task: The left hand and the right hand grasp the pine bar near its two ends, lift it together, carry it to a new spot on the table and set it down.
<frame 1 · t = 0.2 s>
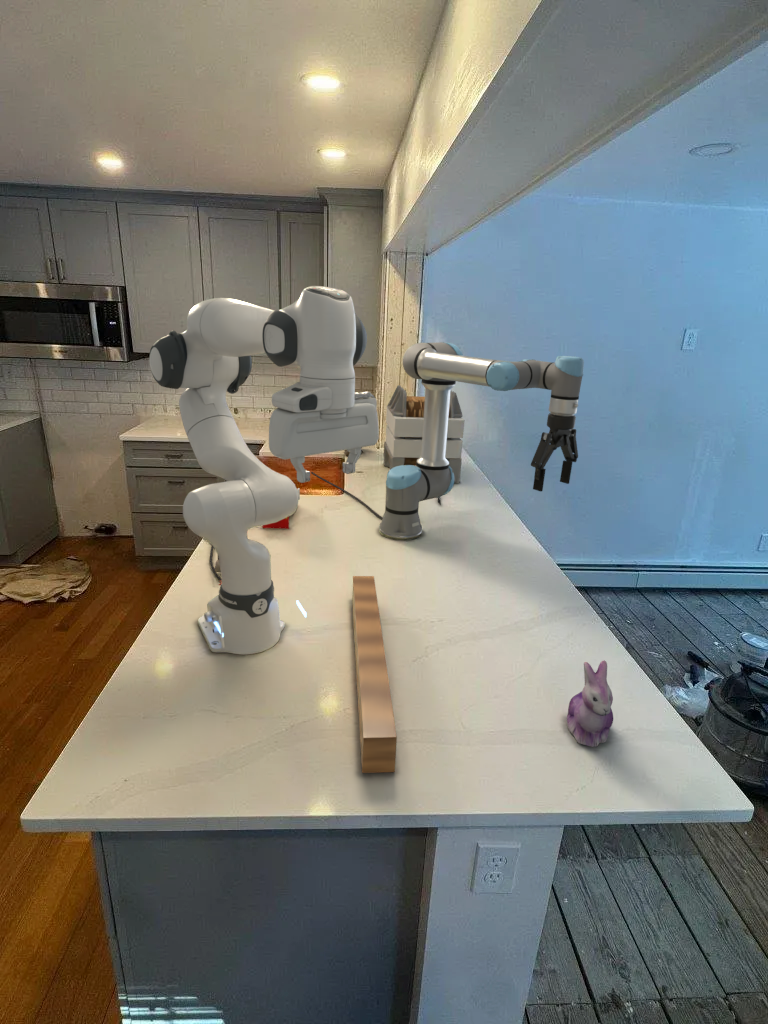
left hand: (326, 477, 96), 47 cm above the counter, tool pointing down, fingers open, 8 cm apart
right hand: (551, 486, 165), 28 cm above the counter, tool pointing down, fingers open, 13 cm apart
feather: (438, 495, 243), on the counter
toy: (280, 515, 212), on the counter
figurine: (589, 731, 109), on the counter
figurine character: (232, 569, 168), on the counter
bar: (368, 667, 125), on the counter
slatted wooden crate: (419, 473, 275), on the counter
fossil: (356, 452, 308), on the counter
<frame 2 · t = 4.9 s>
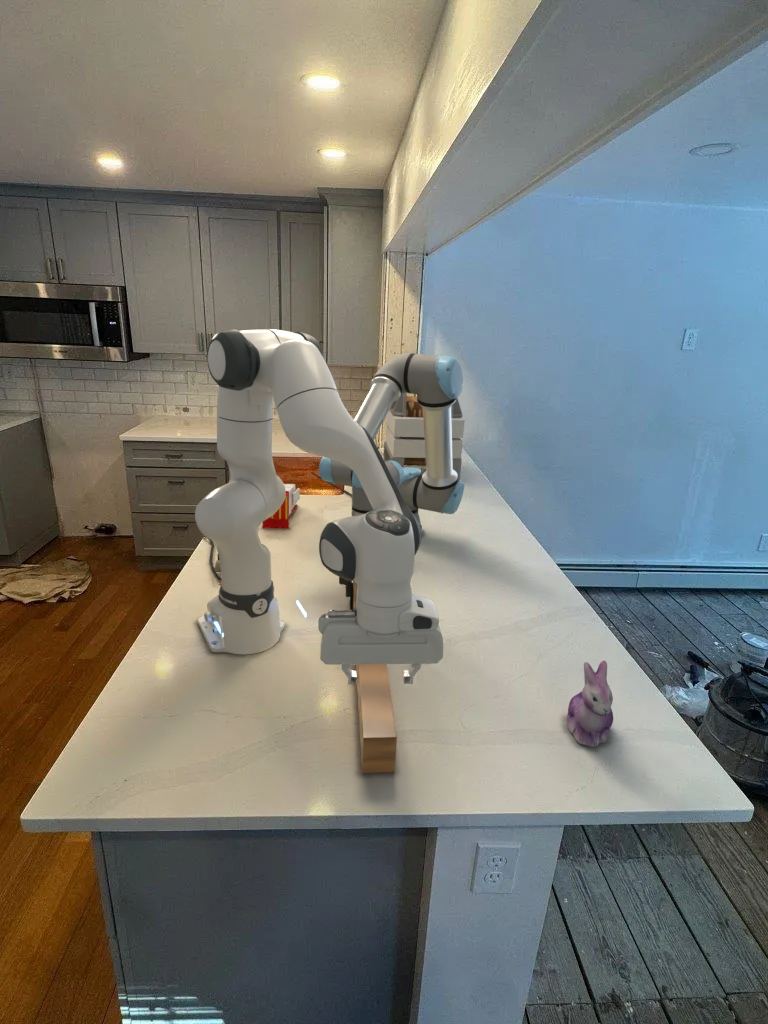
left hand: (379, 682, 96), 15 cm above the counter, tool pointing down, fingers open, 8 cm apart
right hand: (363, 606, 149), 1 cm above the counter, tool pointing down, fingers closed on bar, 6 cm apart
bar: (368, 667, 125), on the counter, touching right hand
everything else where it was.
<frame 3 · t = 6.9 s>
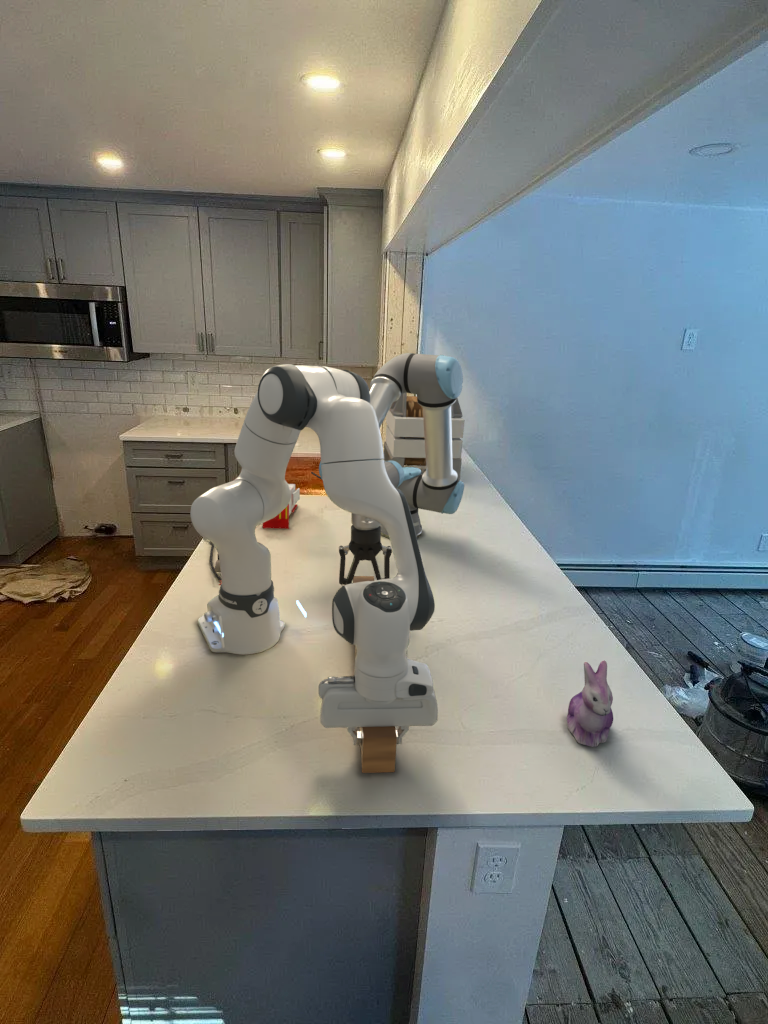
left hand: (377, 742, 100), 3 cm above the counter, tool pointing down, fingers closed on bar, 5 cm apart
right hand: (363, 606, 149), 1 cm above the counter, tool pointing down, fingers closed on bar, 6 cm apart
bar: (368, 667, 125), on the counter, touching right hand, left hand
everything else where it was.
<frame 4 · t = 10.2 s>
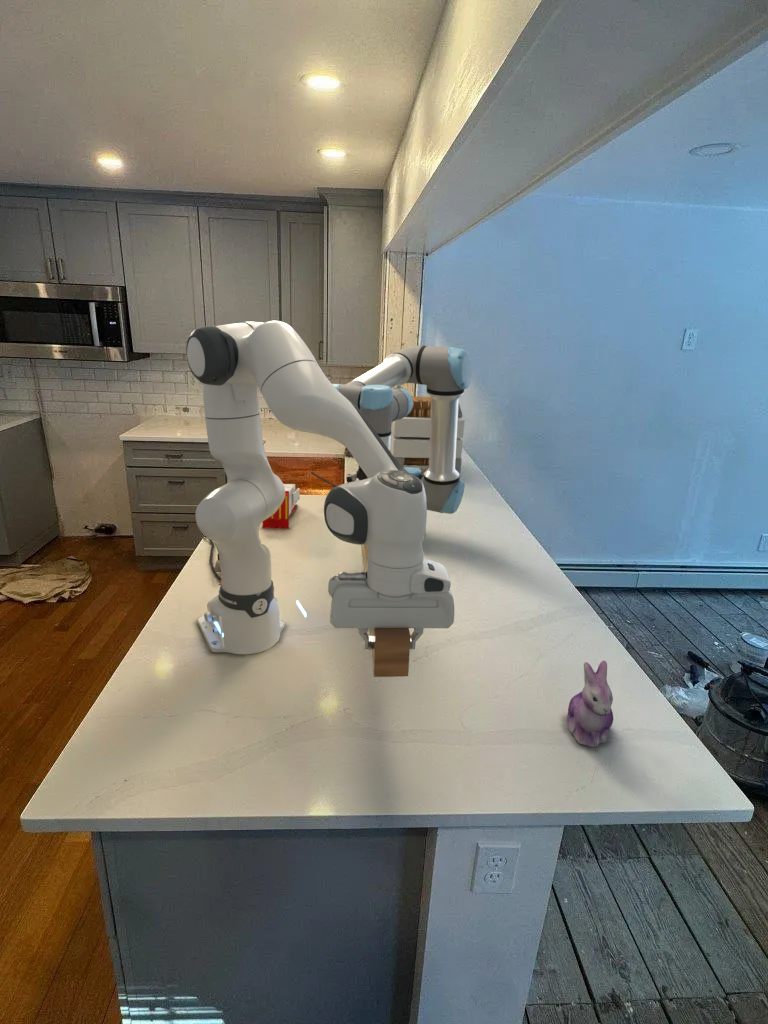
left hand: (389, 647, 95), 21 cm above the counter, tool pointing down, fingers closed on bar, 5 cm apart
right hand: (371, 540, 144), 19 cm above the counter, tool pointing down, fingers closed on bar, 6 cm apart
bar: (378, 589, 120), point 19 cm above the counter, touching right hand, left hand
everything else where it was.
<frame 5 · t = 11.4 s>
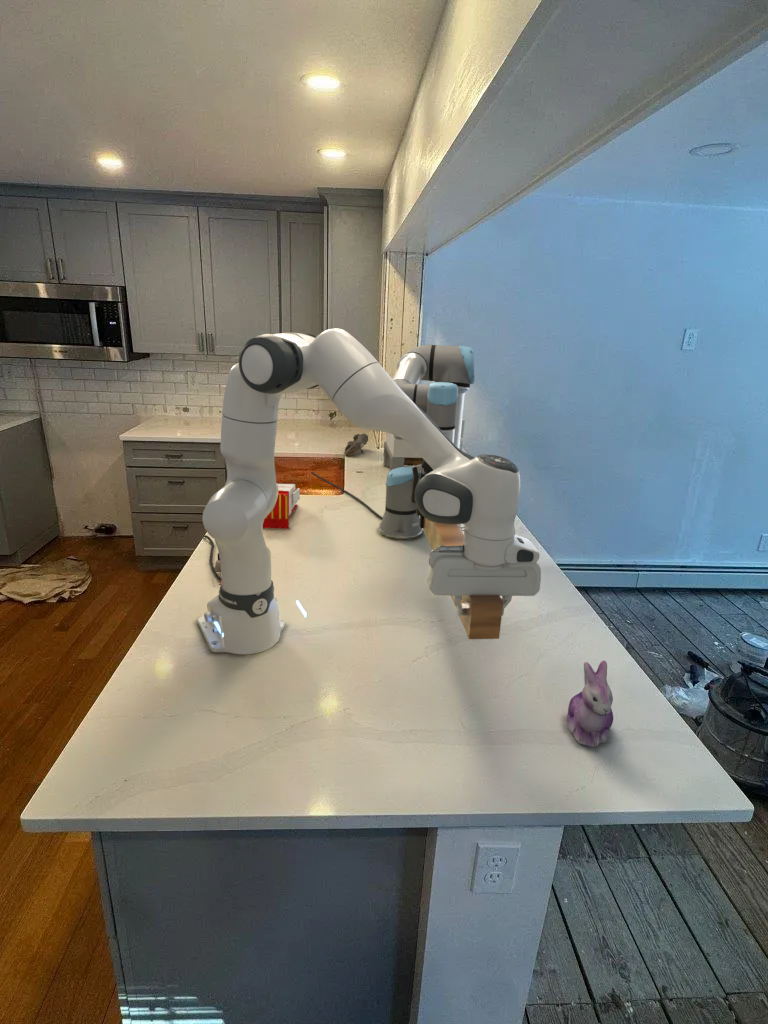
left hand: (479, 614, 106), 22 cm above the counter, tool pointing down, fingers closed on bar, 5 cm apart
right hand: (432, 526, 155), 19 cm above the counter, tool pointing down, fingers closed on bar, 6 cm apart
bar: (451, 568, 131), point 19 cm above the counter, touching right hand, left hand
everything else where it was.
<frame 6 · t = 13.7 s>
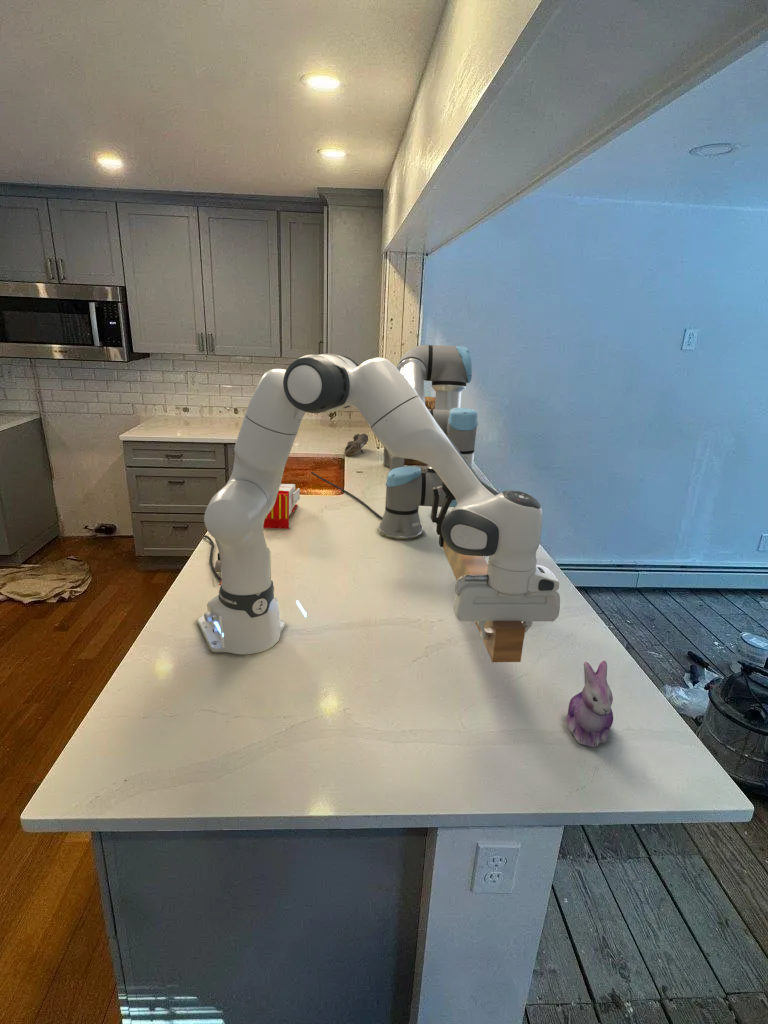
left hand: (502, 638, 112), 14 cm above the counter, tool pointing down, fingers closed on bar, 5 cm apart
right hand: (451, 544, 162), 12 cm above the counter, tool pointing down, fingers closed on bar, 6 cm apart
bar: (471, 589, 137), point 11 cm above the counter, touching right hand, left hand
everything else where it was.
when the right hand's fingers open (2 cm above the counter, at t = 15.8 s): bar stays where it is, on the counter.
when the left hand's fingers open (4 cm above the counter, at t = 16.0 s): bar stays where it is, on the counter.
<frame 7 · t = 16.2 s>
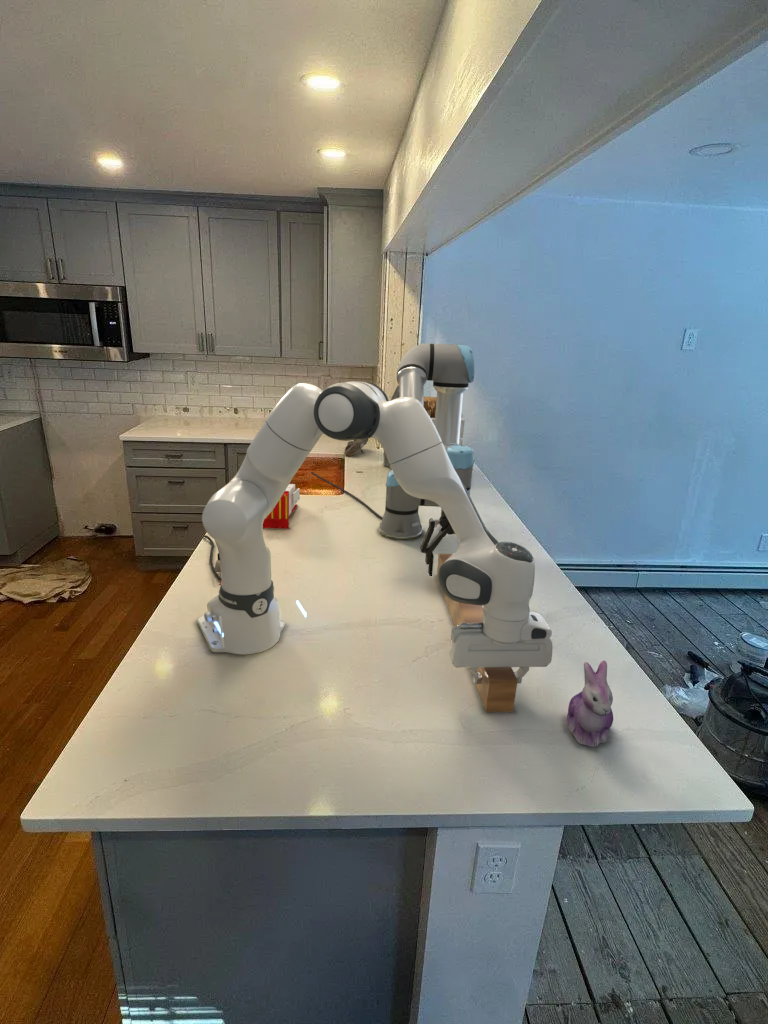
left hand: (496, 682, 116), 4 cm above the counter, tool pointing down, fingers open, 7 cm apart
right hand: (449, 574, 165), 3 cm above the counter, tool pointing down, fingers open, 10 cm apart
bar: (467, 630, 141), on the counter
everything else where it was.
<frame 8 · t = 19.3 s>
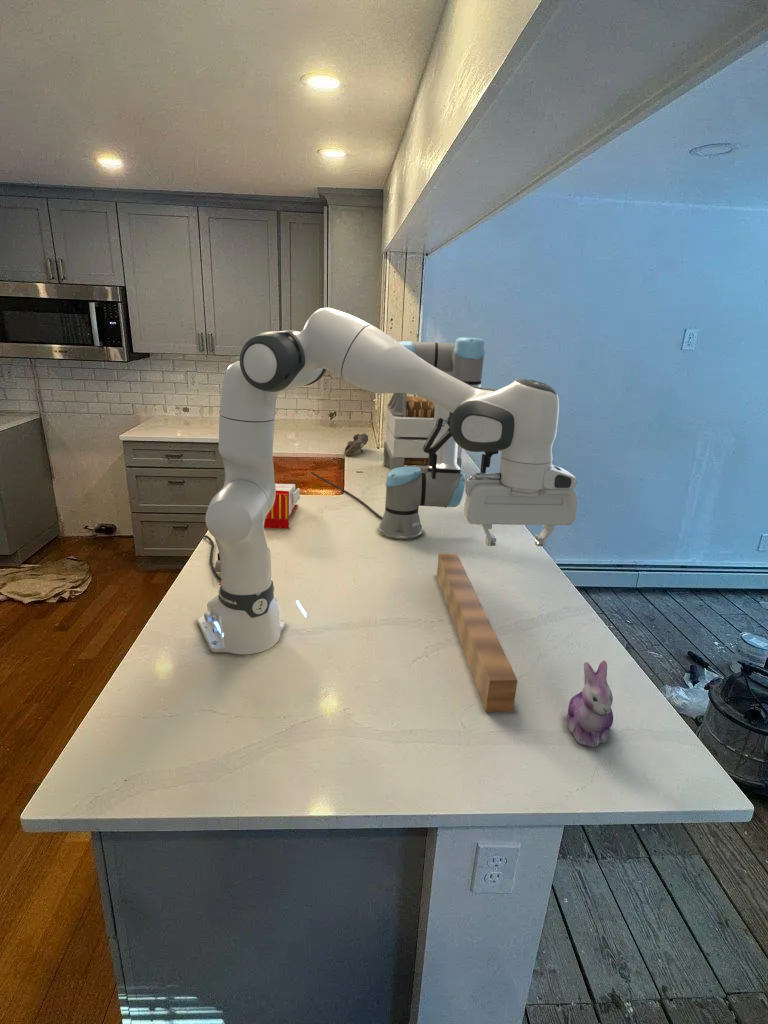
left hand: (515, 545, 106), 34 cm above the counter, tool pointing down, fingers open, 8 cm apart
right hand: (457, 478, 155), 32 cm above the counter, tool pointing down, fingers open, 13 cm apart
nothing on the counter moved.
at the end: bar inside the target area (0.1 cm from its centre), on the counter; bar tilted 0°; bar never tilted more than 1° during the clip; both hands held the bar at the same time; the left hand is holding nothing; the right hand is holding nothing; bar at rest at the end (0.0 cm/s) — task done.
